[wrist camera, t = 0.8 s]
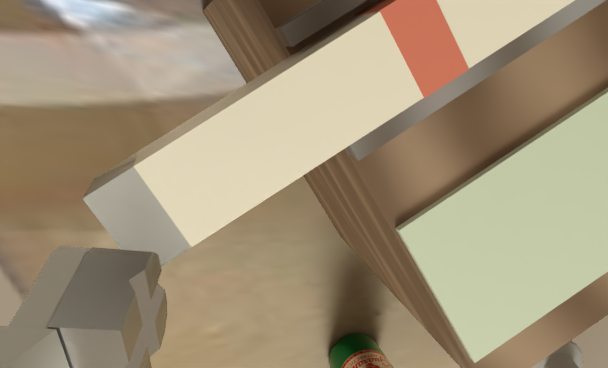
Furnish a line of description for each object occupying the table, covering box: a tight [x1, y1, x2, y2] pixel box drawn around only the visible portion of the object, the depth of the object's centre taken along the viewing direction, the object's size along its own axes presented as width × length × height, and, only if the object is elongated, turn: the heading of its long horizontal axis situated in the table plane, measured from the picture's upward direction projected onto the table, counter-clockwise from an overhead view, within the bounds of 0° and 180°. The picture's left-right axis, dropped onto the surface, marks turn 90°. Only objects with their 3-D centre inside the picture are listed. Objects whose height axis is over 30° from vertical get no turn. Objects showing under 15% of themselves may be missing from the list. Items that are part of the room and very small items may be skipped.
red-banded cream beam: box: [82, 0, 575, 266], centre depth 22 cm, size 22×4×3 cm, turn 121°
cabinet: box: [203, 0, 608, 368], centre depth 37 cm, size 15×23×28 cm, turn 31°
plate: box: [396, 88, 608, 363], centre depth 27 cm, size 14×8×1 cm, turn 121°
